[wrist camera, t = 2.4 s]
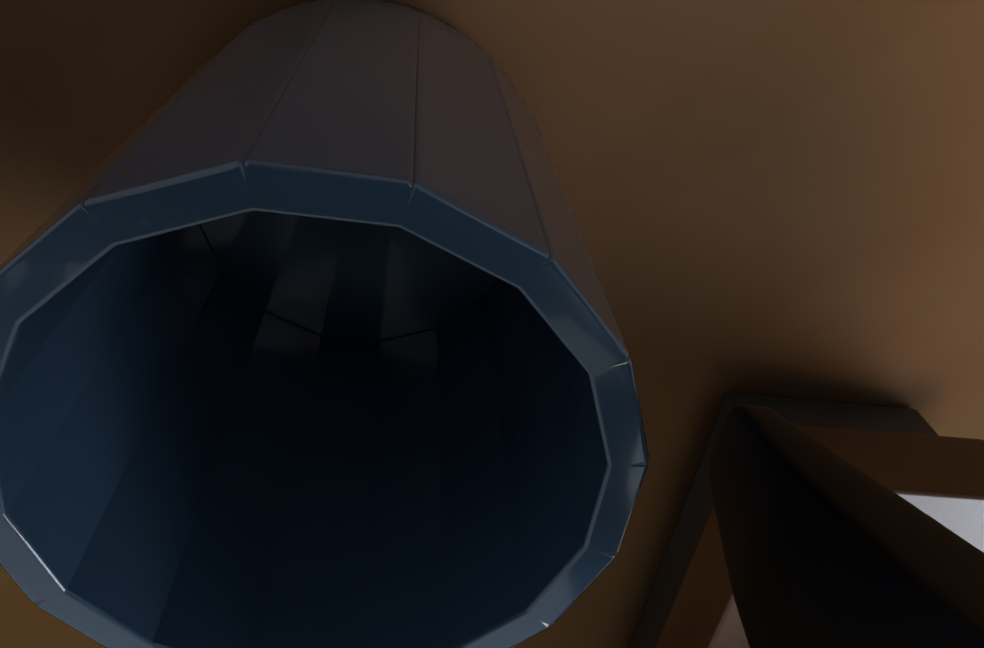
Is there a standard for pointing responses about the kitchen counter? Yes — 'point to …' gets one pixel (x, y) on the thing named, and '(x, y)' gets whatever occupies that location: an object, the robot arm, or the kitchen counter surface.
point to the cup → (317, 360)
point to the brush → (856, 437)
